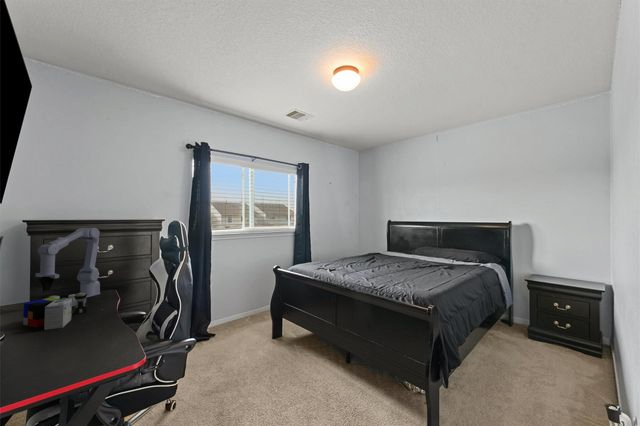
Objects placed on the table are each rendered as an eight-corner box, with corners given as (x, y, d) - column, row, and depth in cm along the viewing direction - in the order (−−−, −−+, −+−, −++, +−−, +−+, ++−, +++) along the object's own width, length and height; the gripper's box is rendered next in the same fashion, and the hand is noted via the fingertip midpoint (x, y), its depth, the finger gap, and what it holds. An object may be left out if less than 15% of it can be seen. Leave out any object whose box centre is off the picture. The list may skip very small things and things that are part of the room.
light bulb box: (53, 322, 130) (54, 299, 130) (71, 320, 133) (72, 298, 133) (43, 330, 121) (44, 306, 121) (63, 327, 124) (64, 304, 124)
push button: (71, 315, 139) (71, 295, 139) (69, 313, 142) (69, 294, 143) (87, 312, 144) (88, 293, 145) (85, 309, 148) (86, 291, 148)
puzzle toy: (23, 324, 127) (23, 303, 127) (49, 317, 136) (50, 297, 137) (36, 327, 124) (37, 305, 124) (63, 319, 134) (63, 299, 134)
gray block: (54, 302, 156) (54, 295, 156) (59, 302, 155) (59, 295, 156) (48, 303, 154) (49, 296, 154) (54, 304, 153) (54, 297, 153)
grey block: (73, 300, 160) (73, 294, 160) (78, 301, 159) (78, 294, 159) (68, 301, 157) (68, 295, 157) (73, 302, 156) (73, 295, 156)
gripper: (28, 266, 148) (28, 291, 147) (48, 267, 144) (47, 293, 144) (44, 264, 155) (43, 288, 154) (63, 265, 151) (63, 290, 151)
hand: (46, 290), depth 150 cm, fingers closed
